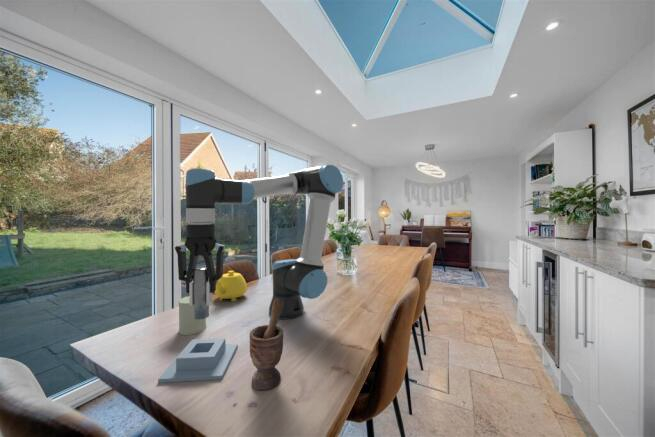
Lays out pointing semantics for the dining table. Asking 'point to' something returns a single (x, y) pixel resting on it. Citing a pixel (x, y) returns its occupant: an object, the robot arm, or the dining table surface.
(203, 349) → the socket block
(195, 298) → the peg
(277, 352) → the mortar and pestle
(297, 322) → the dining table surface
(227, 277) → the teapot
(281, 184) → the robot arm
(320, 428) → the dining table surface
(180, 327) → the can
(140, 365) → the dining table surface
